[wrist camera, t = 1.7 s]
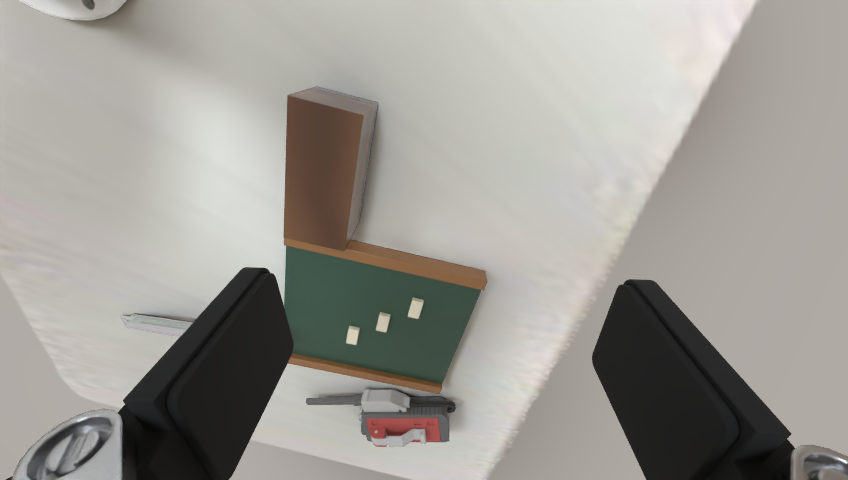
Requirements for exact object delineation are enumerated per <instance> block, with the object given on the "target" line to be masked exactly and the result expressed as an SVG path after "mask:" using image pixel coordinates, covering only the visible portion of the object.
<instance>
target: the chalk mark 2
mask: <svg viewBox="0 0 848 480" xmlns="http://www.w3.org/2000/svg"><path fill="white" fill-rule="evenodd" d="M390 316H391V315H390V314H387V313H382V312H380V314H379V318H378V323H377V327H376V330H377V331H381V332H387V328H388V324H389V320H390Z"/></svg>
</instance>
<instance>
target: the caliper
mask: <svg viewBox="0 0 848 480" xmlns="http://www.w3.org/2000/svg"><path fill="white" fill-rule="evenodd" d="M120 317H121V319H122V321H123V323H124V324H125V325H126V327H127V328H131V329H137V330H143V331H149V332H155V333H162V334H168V335H174V336H180V337H181V336H182V334H183V333H184V332H185V331H186V330H187V329H188V328H189V327H190V326H191V324H192V323H193V322H188V321H181V320H174V319H167V318H161V317H154V316H148V315H141V314H133V315H131V316H125V315H122V316H120Z"/></svg>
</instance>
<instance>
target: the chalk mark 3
mask: <svg viewBox="0 0 848 480" xmlns="http://www.w3.org/2000/svg"><path fill="white" fill-rule="evenodd" d="M423 303H424V300H422V299H417V298H412V302H411V305H410V309H409V312H408V317H411V318H416V319H419V316H420V312H421V309H422V306H423Z"/></svg>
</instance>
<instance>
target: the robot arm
mask: <svg viewBox="0 0 848 480" xmlns="http://www.w3.org/2000/svg"><path fill="white" fill-rule="evenodd" d="M18 1H20V2H22V3H24V4H26V5H28V6H30V7H31V8H33V9H35V10H37V11H40V12H43V13H45V14H48V15H51V16H54V17H58V18H64V19H70V20H95V19H100V18H105V17H107V16H108V15H110V14H112V13H114V12H116V11H117V10H118V9H119V8H120V7H121V6H122V5H123V4H124V3H125V2H126V1H127V0H18ZM293 347H294V342H293V338H292V334H291V331H290V327H289V323H288V320H287V316H286V313H285V309H284V305H283V302H282V298H281V295H280V291H279V287H278V284H277V280H276V277H275V275H274V274H272V273H270V272H269V270H268V269H266V268H249V267H246V268H243V269H242V270H240V271H239V273H238V274H237V275H236V276H235V277H234V278H233V279H232V280H231V281H230V282H229V284H228V285H227V286H226V287H225V288H224V289H223V290H222V291H221V292H220V294H219V295H218V296H217V297H216V298H215V299H214V300H213V301H212V302H211V303H210V305H209V306H208V307H207V308H206V309H205V310H204V311H203V312H202V313H201V315H200V316H199V317H198V318H197V319H196V320H195V321H194V322H193V323H192V324H191V326H190V327H189V328H188V329H187V330H186V331H185V332H184V333H183V334H182V336H181V337H180V338H179V339H178V340H177V341H176V342H175V343H174V344H173V346H172V347H171V348H170V349H169V350H168V351H167V352H166V353H165V354H164V355H163V357H162V358H161V359H160V360H159V361H158V362H157V363H156V364H155V365H154V367H153V368H152V369H151V370H150V371H149V372H148V373H147V374H146V375H145V376H144V378H143V379H142V380H141V381H140V382H139V383H138V384H137V385H136V386H135V388H134V389H133V390H132V391H131V392H130V393H129V394H128V395H127V396H126V397H125V399H124V400H123V402H124V403H125V405H124V406H123V407H122V409H121V410H120V411H119V412H118V413H117V412H116V411H114V410H109V409H98V410H92V411H88V412H85V413H82V414H80V415H77V416H75V417H73V418H71V419H69V420H67V421H65V422H63V423H61V424H59V425H58V426H56V427H55V428H54V429H52V430H51V431H49V432H48V433H46V434H45V435H44V436H42V437H41V438H40V439H39V440H38V441H37V442H36V443H35V444H34V445H33V446H31V447H30V448H29V450H28V451H27V452H26V453H25V455H24V456H23V457H22V458H21V460H20V461H19V463H18V465H17V468H16V469H15V471H14V474H13V476H12V477H10V478H8V479H6V480H229V478H230V477H231V476H232V474H233V472H234V471H235V469H236V467H237V465H238V463H239V461H240V459H241V456H242V455H243V452H244V451H245V448H246V447H247V444H248V442H249V440H250V438H251V436H252V434H253V432H254V430H255V428H256V426H257V424H258V422H259V420H260V418H261V416H262V414H263V412H264V410H265V408H266V406H267V404H268V402H269V400H270V398H271V396H272V394H273V392H274V390H275V388H276V386H277V383H278V381H279V379H280V377H281V375H282V373H283V371H284V369H285V367H286V365H287V363H288V361H289V359H290V357H291V355H292V352H293ZM592 361H593V366H594V369H595V371H596V373H597V375H598V377H599V379H600V381H601V383H602V386H603V388H604V390H605V392H606V394H607V396H608V398H609V401H610V403H611V405H612V407H613V409H614V411H615V413H616V416H617V418H618V420H619V422H620V424H621V426H622V429H623V430H624V433H625V435H626V437H627V439H628V441H629V443H630V445H631V448H632V450H633V452H634V454H635V456H636V458H637V461H638V463H639V465H640V467H641V469H642V471H643V473H644V476H645V478H646V480H848V456H845V455H843V454H841V453H838V452H836V451H833V450H831V449H828V448H824V447H820V446H815V445H801V446H800V447H798V448H796V449H795V448H794V446H793V445H792V444H791V443H790V442H789V441H788V440H787V438H788V437H789V436H790V435H791V433H790V432H789V430H788V429H787V428H786V427H785V426H784V425H783V424H782V423H781V421H780V420H779V419H778V418H777V417H776V416H775V415H774V414H773V413H772V412H771V411H770V409H769V408H768V407H767V406H766V405H765V404H764V403H763V401H762V400H761V399H760V398H759V397H758V396H757V395H756V394H755V392H754V391H753V390H752V389H751V388H750V387H749V386H748V385H747V384H746V383H745V381H744V380H743V379H742V378H741V377H740V376H739V375H738V374H737V372H736V371H735V370H734V369H733V368H732V367H731V366H730V365H729V364H728V363H727V361H726V360H725V359H724V358H723V357H722V356H721V355H720V354H719V352H718V351H717V350H716V349H715V348H714V347H713V346H712V345H711V343H710V342H709V341H708V340H707V339H706V338H705V337H704V336H703V335H702V333H701V332H700V331H699V330H698V329H697V328H696V327H695V326H694V325H693V323H692V322H691V321H690V320H689V319H688V318H687V317H686V315H685V314H684V313H683V312H682V311H681V310H680V309H679V308H678V307H677V305H676V304H675V303H674V302H673V301H672V300H671V299H670V298H669V297H668V295H667V294H666V293H665V292H664V291H663V290H662V289H661V288H660V287H659V285H658V284H657V283H655V282H654V281H652V280H627V281H626V282H625V283H624V284H623V285H619V286H618V288H617V290H616V293H615V295H614V298H613V301H612V303H611V306H610V309H609V311H608V314H607V317H606V319H605V322H604V325H603V327H602V330H601V333H600V336H599V338H598V341H597V344H596V346H595V349H594V352H593V356H592Z"/></svg>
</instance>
